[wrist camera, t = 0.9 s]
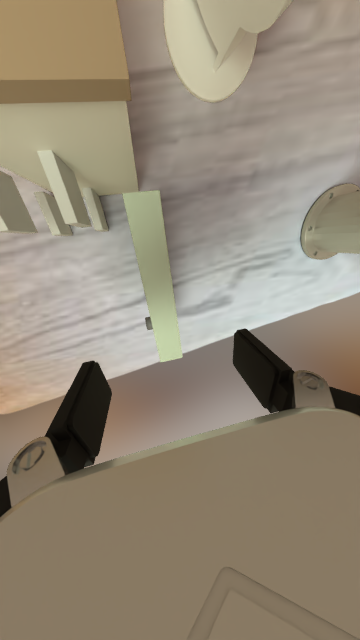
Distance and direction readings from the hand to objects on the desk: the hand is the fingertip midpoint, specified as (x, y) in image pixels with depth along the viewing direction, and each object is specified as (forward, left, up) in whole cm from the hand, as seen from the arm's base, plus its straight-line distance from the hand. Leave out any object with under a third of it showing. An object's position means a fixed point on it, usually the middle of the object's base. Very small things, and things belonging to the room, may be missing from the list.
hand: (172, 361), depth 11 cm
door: (0, -2, -22) cm, 22 cm away
